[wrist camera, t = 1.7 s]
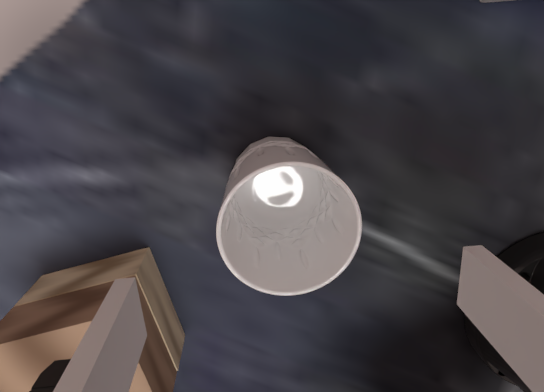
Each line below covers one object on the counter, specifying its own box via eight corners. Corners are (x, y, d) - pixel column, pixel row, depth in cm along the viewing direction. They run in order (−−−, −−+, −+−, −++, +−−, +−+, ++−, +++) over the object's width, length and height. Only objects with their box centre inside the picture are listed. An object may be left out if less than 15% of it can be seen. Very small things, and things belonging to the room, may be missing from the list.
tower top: (135, 275, 28) (115, 314, 24) (176, 371, 31) (166, 421, 27) (13, 306, 28) (-28, 351, 24) (66, 399, 31) (39, 453, 27)
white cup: (214, 137, 29) (201, 176, 20) (319, 119, 29) (356, 150, 20) (234, 232, 32) (231, 306, 23) (330, 216, 32) (367, 283, 23)
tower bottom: (150, 245, 32) (136, 273, 28) (185, 332, 35) (178, 370, 31) (44, 273, 32) (14, 305, 28) (88, 358, 35) (67, 399, 31)
